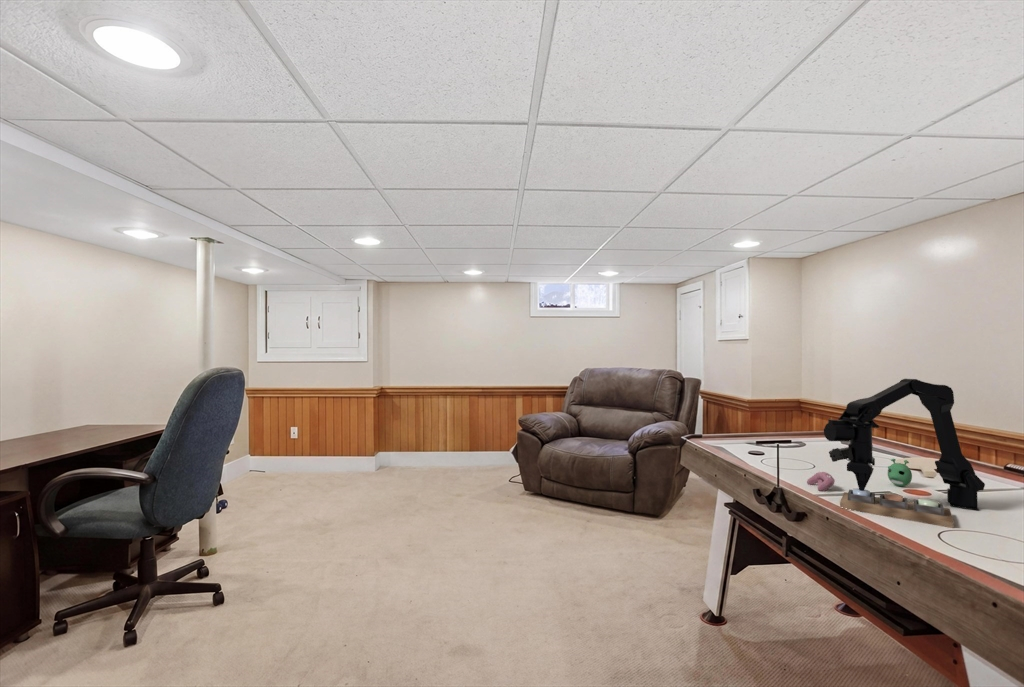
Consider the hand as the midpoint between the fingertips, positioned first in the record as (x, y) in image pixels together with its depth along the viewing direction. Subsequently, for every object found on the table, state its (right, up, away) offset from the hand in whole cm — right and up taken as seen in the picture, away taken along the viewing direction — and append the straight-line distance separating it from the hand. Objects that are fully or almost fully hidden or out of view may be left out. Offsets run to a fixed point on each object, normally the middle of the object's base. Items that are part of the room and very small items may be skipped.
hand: (861, 490), depth 150 cm
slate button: (0, -3, 0) cm, 3 cm away
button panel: (+6, -5, -5) cm, 9 cm away
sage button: (+12, -3, -10) cm, 16 cm away
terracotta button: (+6, -3, -5) cm, 8 cm away
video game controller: (+1, -6, +21) cm, 22 cm away
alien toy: (+32, -6, +24) cm, 40 cm away
